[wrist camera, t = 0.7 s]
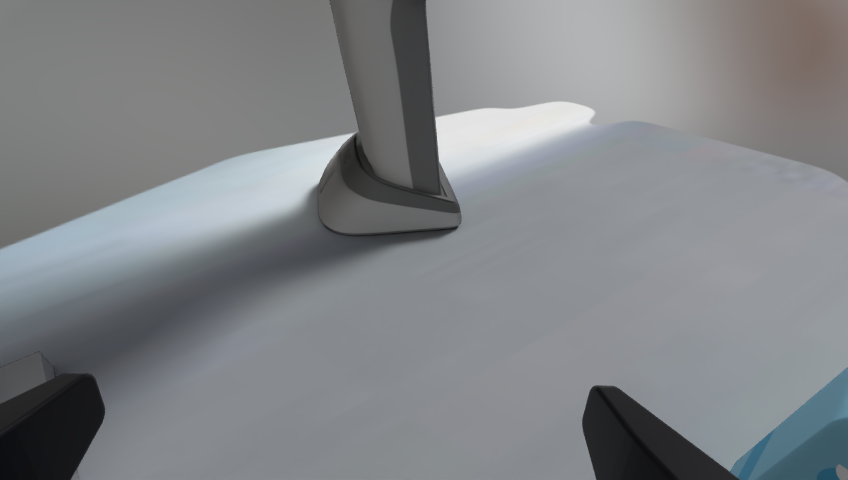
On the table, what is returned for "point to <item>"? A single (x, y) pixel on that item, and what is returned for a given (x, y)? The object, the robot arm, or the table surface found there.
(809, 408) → the data package
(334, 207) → the handheld scanner
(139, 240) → the table surface
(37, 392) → the robot arm
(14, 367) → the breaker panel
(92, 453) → the table surface
